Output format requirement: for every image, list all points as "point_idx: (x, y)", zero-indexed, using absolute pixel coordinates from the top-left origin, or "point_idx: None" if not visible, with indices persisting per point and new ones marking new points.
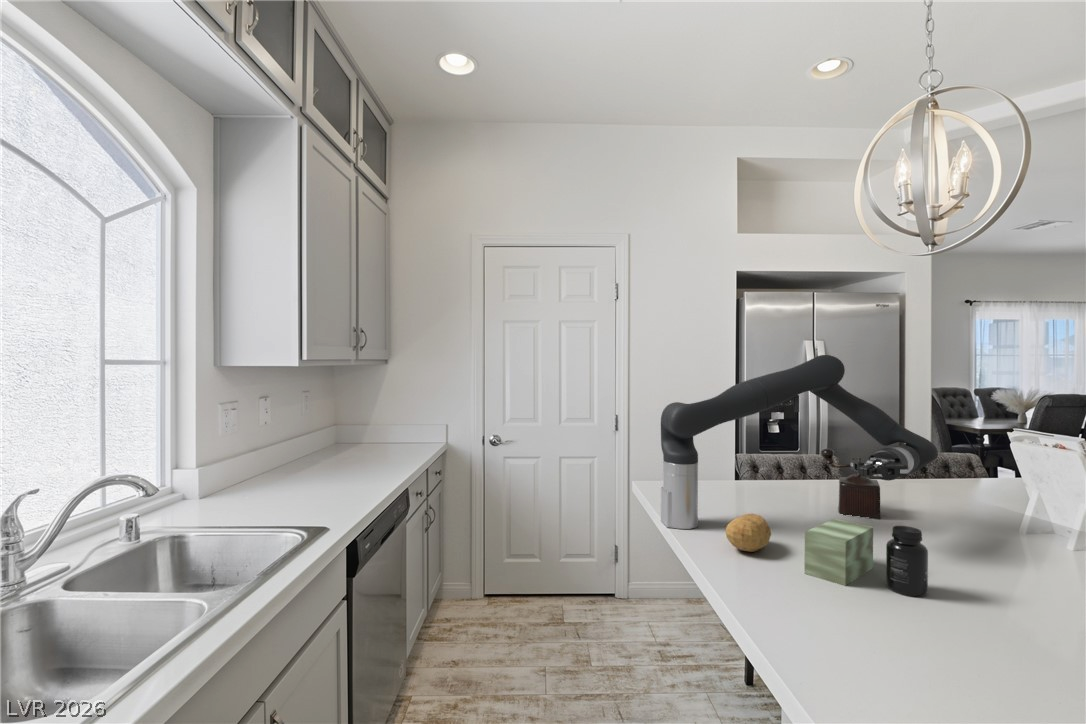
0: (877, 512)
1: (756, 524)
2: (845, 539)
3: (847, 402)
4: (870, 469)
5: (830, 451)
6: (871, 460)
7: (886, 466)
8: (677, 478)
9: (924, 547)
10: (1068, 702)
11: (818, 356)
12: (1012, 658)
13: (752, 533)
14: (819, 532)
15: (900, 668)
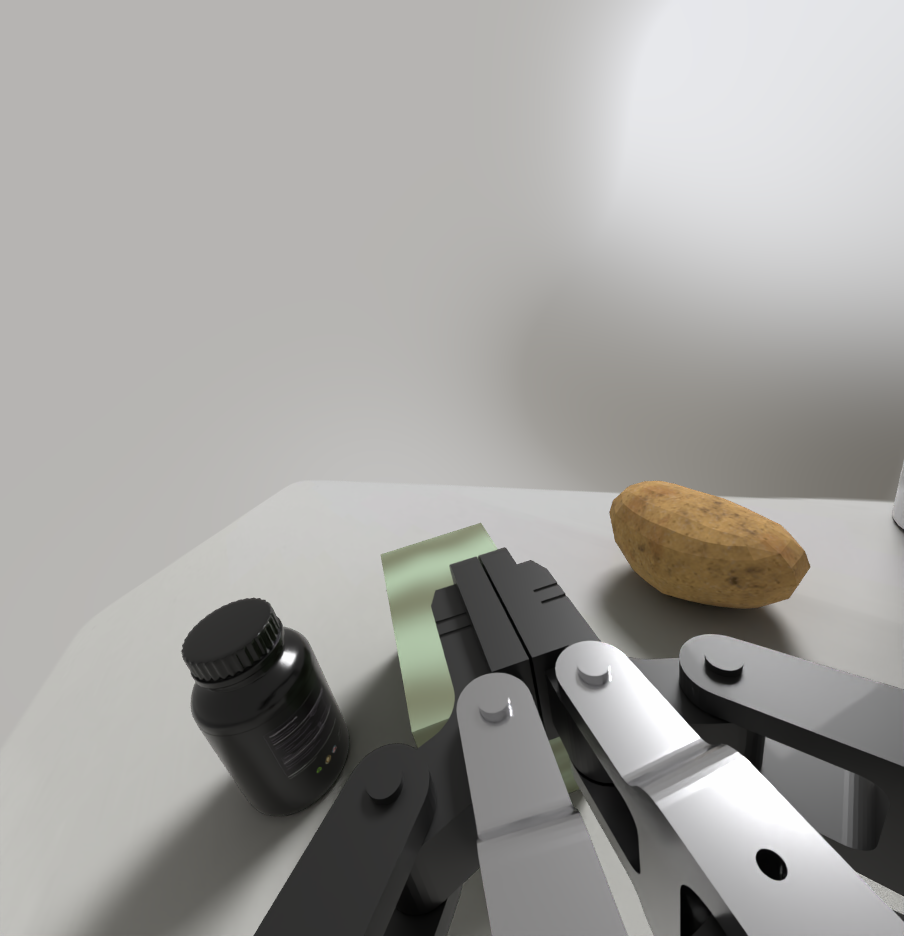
0: None
1: (635, 508)
2: (390, 562)
3: None
4: (440, 596)
5: None
6: (745, 851)
7: (353, 777)
8: None
9: (195, 683)
10: (81, 636)
11: None
12: (115, 672)
13: (611, 510)
14: (461, 544)
15: (254, 548)
